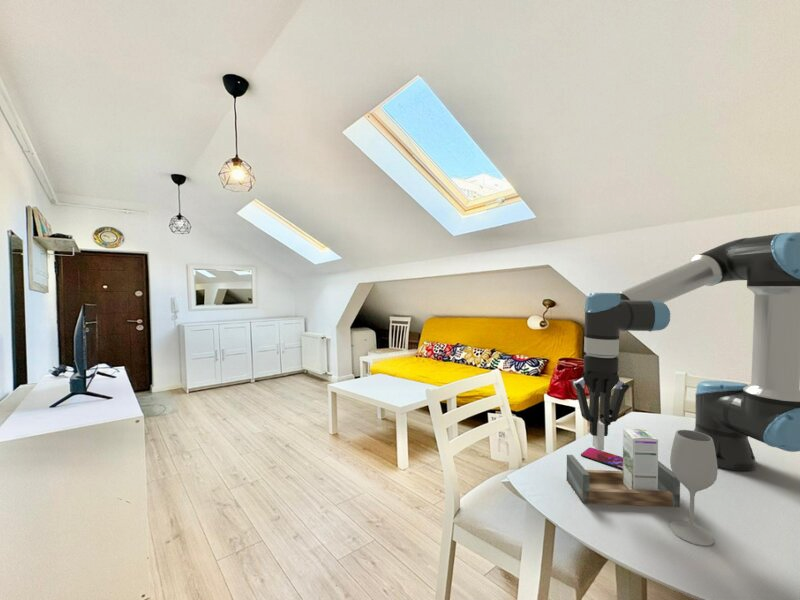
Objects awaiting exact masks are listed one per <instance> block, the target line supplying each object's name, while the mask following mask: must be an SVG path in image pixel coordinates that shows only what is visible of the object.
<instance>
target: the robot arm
mask: <svg viewBox="0 0 800 600" xmlns="http://www.w3.org/2000/svg"><path fill="white" fill-rule="evenodd" d="M732 281H746V288H747V289H749V291H751V292H752V293H753V295H754V302H753V303H754V304H753V326H752V327H753V329H752V350H751V351H752V353H751V354H752V355H751V356H752V357H751V376H750V377H751V381H750V384H747V383H743V382H738V381H737V382H736V381H728V380H703V381H702V380H701V381H700V382H698V383H697V385H696V390H695V391H696V392H695V421H694V422H695V424H694V425H695V426H694V430H693V431H697V432H700V433H704V434H706V435H708V436H710V437H711V438H712V439H713V442H714V446H715V451H716V458H717V467H718V468H719V469H724V470H730V471H737V472H748V471H749V472H750V471H753V470H754V469H756V464H757V463H756V460H757V459H756V457H755V455H754V452H753V448H752V446H751V444H750V441H749V439H748V438H751V439H754V440H756V441H759V442H760V443H763V444H765V445H767V446H769V447H772V448H776V449H780V450H782V451H785V452H790V453H795V452H800V231H797V232H780V233H775V234H768V235H762V236H761V235H760V236H753V237H744V238H739V239H735V240H732V241H729V242H726V243H723V244H721V245H718V246H716V247H713V248H711V249H708V250H707V251H704V252H701V253H699V254H697V255H695V256H693V257H692V258H691V259H690V260H689V262H687V263H685V264H683V265H680V266H678V267H675V268H673V269H671V270H669V271H666V272H664V273H661V274H660V275H657V276H655V277H652V278H649V279H647V280H645V281H643V282H640V283H639V284H636V285H634V286H631V287H629V288H627V289H625V290H622V291H620V292H589V293H588V294H587V295H586V297H585V303H584V304H585V305H584V344H583V352H584V353H585V354H584V355H583V371H582V372H583V373H582V374H581V378H579V379H577V380H572V381H571V384H572V386H573V388H574V389H575V391H576V396H577V400H578V404H579V409H580V413H581V417H582V418H583V419H584V420H586V421H587V422H589V434H590V435H591V436H592V447H593V448H594V449H597V450H601V451H605V437H607V436H608V435H609V426H610V425H611V424H612V422H613V423H615V422H617V421H618V418H619V413H620V410H621V407H622V403H623V400H624V396H625V393H627V391H628V390H629V388H630V386H629V384H628V383H626V382H624V381H621V380H620V376H619V375H618V372H619V358H618V356H619V355H620V354H619V353H620V352H619V351H620V350H619V349H620V332H625V331H626V332H627V331H629V332H634V331H635V332H650V333H651V332H654V331H657V332H658V331H662V330H665V329H666V328H667V327H668V326H669V324H670V321H671V311H670V308H669V307H668V305H667V304H666V303H667V302H668V301H671V300H674V299H676V298H678V297H681V296H683V295H685V294H687V293H690V292H692V291H695V290H698V289H699V288H702V287H704V286H705V287H713V286H716V285H718V284H721V283H725V282H732ZM585 385H586V387H587V388H588V394H589V399H587V394H586V390H585ZM613 389H614V390H613ZM612 390H613V394H612ZM588 400H589V401H588ZM588 402H589V403H588Z"/></svg>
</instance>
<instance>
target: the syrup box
mask: <svg viewBox="0 0 800 600" xmlns="http://www.w3.org/2000/svg"><path fill="white" fill-rule="evenodd" d="M622 457H623V470H622V471H623V484H624V485H625V486H626V488H627V489H628V490H652V491H658V461H659V439H658V438H656V437H655V436H654V435H653V434H651V433H650V432H649V431H648V430H646V429H639V428H638V429H637V428H625V429H623V431H622Z"/></svg>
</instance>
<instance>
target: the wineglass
mask: <svg viewBox="0 0 800 600" xmlns="http://www.w3.org/2000/svg"><path fill="white" fill-rule="evenodd" d="M670 451H671V452H670V458H669V459H670V460H669V461H670V462H669V463H670V470H671V471H672V472H673V474H674V475H675V477H676V478H677V479H678V480H679V481H680V484H682V486H684V487H685V488H686V489H687V490H688V492H689V515H688V516H689V519H688V521H682V520H681V521H678V520H676V521H675V520H674V521H672V522H670V524H669V529H670V531H671V532H672V533H673V535H675V536H676V537H677V538H679V539H681V540H683V541H684V542H687V543H690V544H692V545H695V546H700V547H710V546H713V544H714V543H715V539H714V537H713V535H712V534H711V533H709V532H708V531H707V530H706V529H704V528H702V527H701V526H699V525H696V524H695V496H696V493H697V492H700V491H703V490H706V489H708V488H710V487H711V486H713V485H714V484H715V483H716V481H717V477H718V469H719V467H717V458H716V451H715V446H714V442H713V439H712V438H711V437H710V436H708V435H706V434H704V433H700V432H697V431H694V430H689V429H677V430H676V432H675V435H674V437H673V441H672V445H671V450H670Z"/></svg>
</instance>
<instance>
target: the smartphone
mask: <svg viewBox="0 0 800 600" xmlns="http://www.w3.org/2000/svg"><path fill="white" fill-rule="evenodd" d="M580 457H582V458H585V459H587V460H591V461H594V462H597V463H600V464H603V465H606V466H608V467H612V468H615V469H616V470H619V471H623V456H620V455H617V454H614V453H610V452H607V451H605V450H597V449H596V448H595V447H588V448H587V449H585V450H584V451H583V452H582V453H581V454H580Z"/></svg>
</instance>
